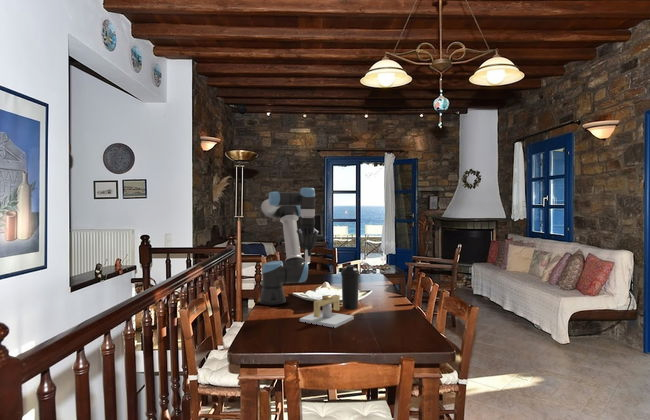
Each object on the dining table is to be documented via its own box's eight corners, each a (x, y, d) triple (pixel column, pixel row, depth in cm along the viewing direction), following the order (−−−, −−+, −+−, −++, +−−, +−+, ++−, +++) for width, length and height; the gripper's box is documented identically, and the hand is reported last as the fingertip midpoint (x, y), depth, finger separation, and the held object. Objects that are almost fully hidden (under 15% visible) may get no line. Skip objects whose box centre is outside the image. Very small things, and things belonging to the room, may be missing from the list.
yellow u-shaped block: (319, 318, 208) (320, 300, 208) (311, 316, 211) (311, 298, 210) (341, 310, 222) (341, 293, 222) (333, 308, 225) (333, 292, 225)
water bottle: (359, 305, 247) (359, 264, 247) (359, 309, 237) (359, 267, 237) (341, 304, 248) (341, 264, 248) (340, 309, 238) (340, 266, 238)
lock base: (299, 321, 214) (299, 305, 214) (319, 313, 230) (319, 298, 229) (335, 327, 204) (335, 310, 204) (353, 319, 219) (353, 302, 219)
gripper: (322, 217, 231) (321, 262, 232) (301, 216, 238) (301, 260, 238) (314, 217, 225) (314, 263, 225) (293, 217, 232) (293, 262, 232)
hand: (307, 262), depth 232 cm, fingers closed
